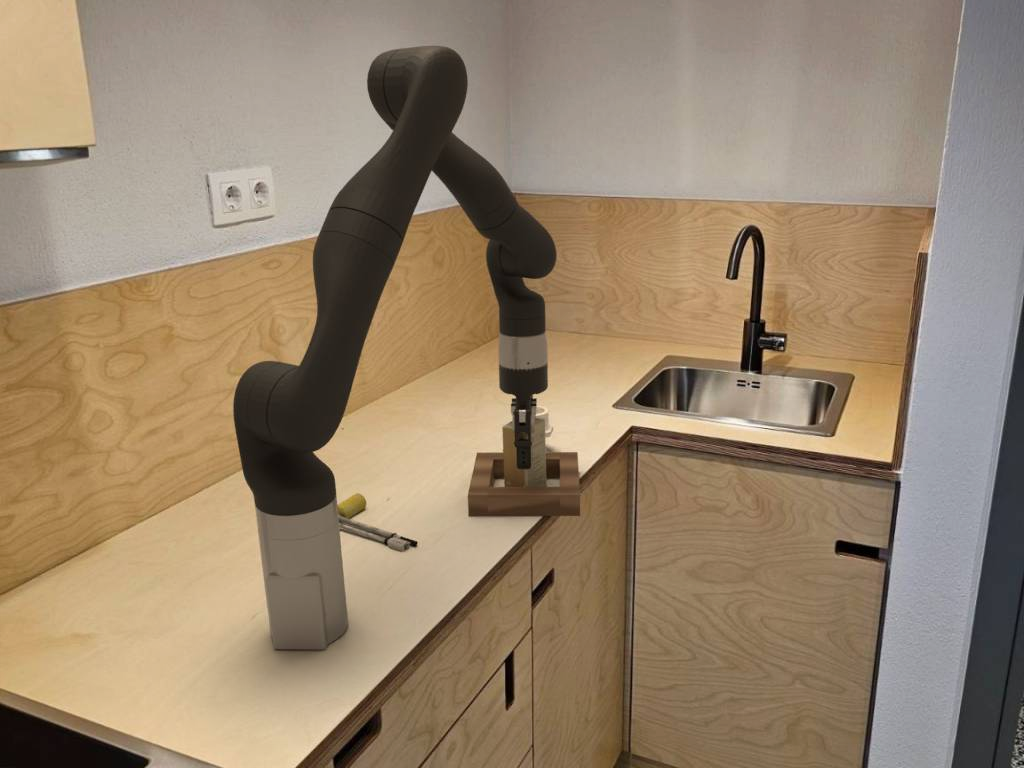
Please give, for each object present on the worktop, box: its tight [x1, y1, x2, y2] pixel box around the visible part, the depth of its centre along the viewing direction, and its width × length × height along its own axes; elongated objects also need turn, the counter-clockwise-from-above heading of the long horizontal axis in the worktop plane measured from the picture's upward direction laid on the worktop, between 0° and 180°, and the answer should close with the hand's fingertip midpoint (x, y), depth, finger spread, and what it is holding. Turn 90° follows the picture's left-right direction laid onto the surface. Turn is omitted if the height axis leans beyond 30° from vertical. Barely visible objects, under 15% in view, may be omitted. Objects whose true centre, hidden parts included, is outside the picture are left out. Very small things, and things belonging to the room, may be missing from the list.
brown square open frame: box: [467, 451, 581, 517], centre depth 144 cm, size 17×17×4 cm
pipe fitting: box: [536, 405, 554, 439], centre depth 159 cm, size 6×7×8 cm
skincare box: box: [502, 418, 548, 487], centre depth 142 cm, size 6×4×12 cm
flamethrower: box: [337, 492, 419, 553], centre depth 136 cm, size 29×3×10 cm
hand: (525, 457), depth 143 cm, fingers open, 8 cm apart
